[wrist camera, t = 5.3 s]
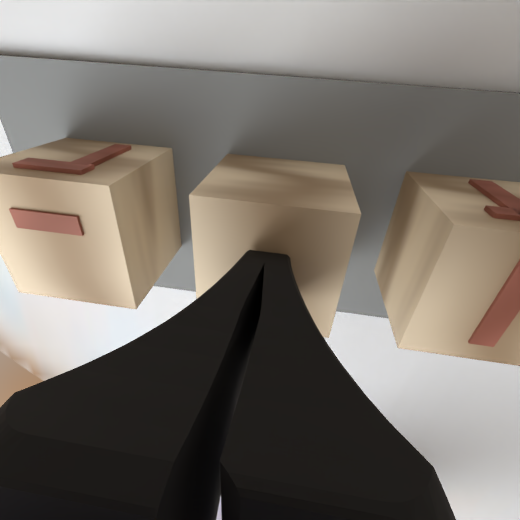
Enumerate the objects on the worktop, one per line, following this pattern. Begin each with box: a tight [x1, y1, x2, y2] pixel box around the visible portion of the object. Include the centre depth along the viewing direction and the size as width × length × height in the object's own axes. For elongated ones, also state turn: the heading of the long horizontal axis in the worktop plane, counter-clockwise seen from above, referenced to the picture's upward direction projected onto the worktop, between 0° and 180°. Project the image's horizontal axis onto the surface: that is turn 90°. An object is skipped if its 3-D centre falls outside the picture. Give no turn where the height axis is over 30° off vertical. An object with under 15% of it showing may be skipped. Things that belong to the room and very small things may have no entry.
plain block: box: [189, 154, 361, 338], centre depth 12 cm, size 5×5×5 cm
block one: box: [374, 171, 520, 366], centre depth 11 cm, size 5×5×5 cm
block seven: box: [0, 138, 182, 309], centre depth 13 cm, size 5×5×5 cm
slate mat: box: [0, 55, 520, 318], centre depth 14 cm, size 26×11×1 cm, turn 87°
